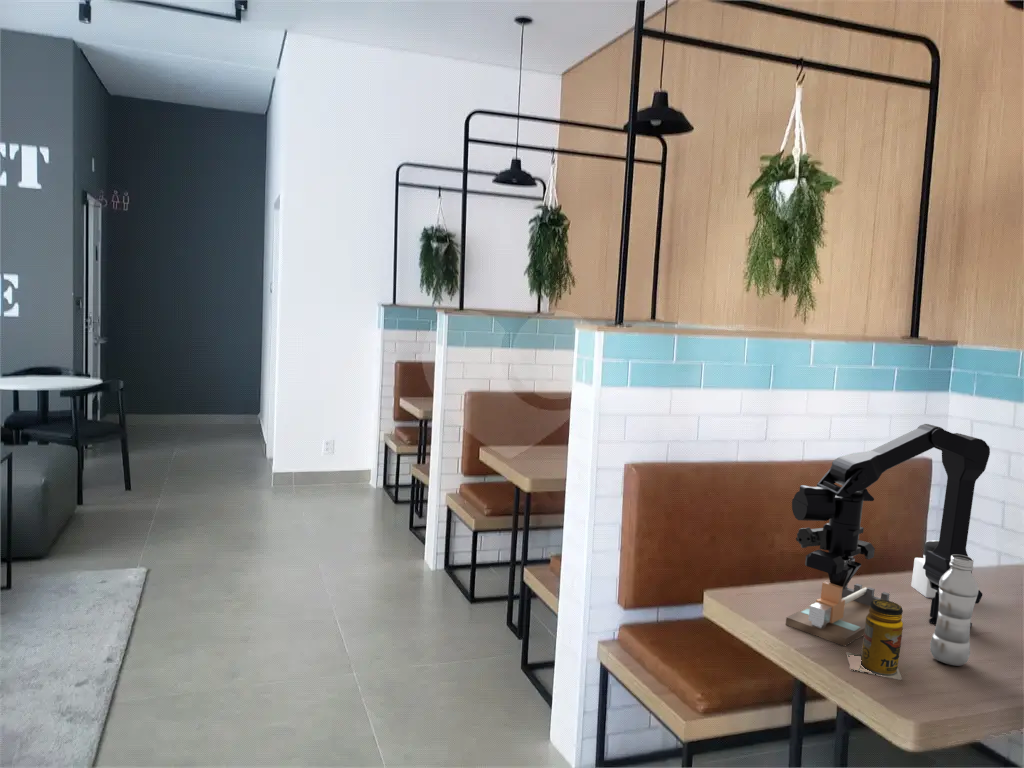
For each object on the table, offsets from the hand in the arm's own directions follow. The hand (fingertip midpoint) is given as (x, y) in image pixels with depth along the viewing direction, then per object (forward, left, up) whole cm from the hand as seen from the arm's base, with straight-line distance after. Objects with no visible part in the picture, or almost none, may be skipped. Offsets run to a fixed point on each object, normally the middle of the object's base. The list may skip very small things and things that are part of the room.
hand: (835, 596), depth 160 cm
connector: (0, +7, -5) cm, 8 cm away
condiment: (-13, +12, -6) cm, 19 cm away
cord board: (0, -3, -6) cm, 7 cm away
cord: (0, -5, -3) cm, 6 cm away
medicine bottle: (-6, -39, -6) cm, 40 cm away
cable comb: (0, -14, -5) cm, 15 cm away
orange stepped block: (0, +2, -4) cm, 5 cm away
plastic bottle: (-21, -2, -6) cm, 22 cm away
